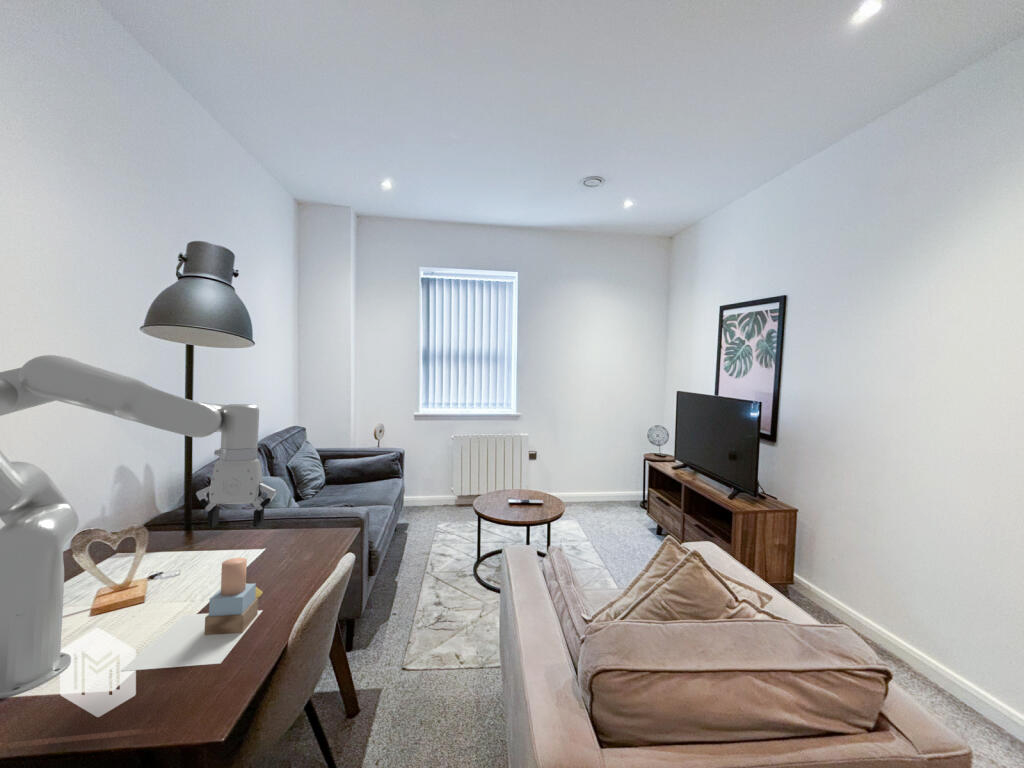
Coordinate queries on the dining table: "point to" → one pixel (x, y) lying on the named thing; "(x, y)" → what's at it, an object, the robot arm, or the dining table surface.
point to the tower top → (232, 602)
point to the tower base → (231, 621)
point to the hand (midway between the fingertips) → (235, 525)
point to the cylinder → (233, 576)
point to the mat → (186, 646)
